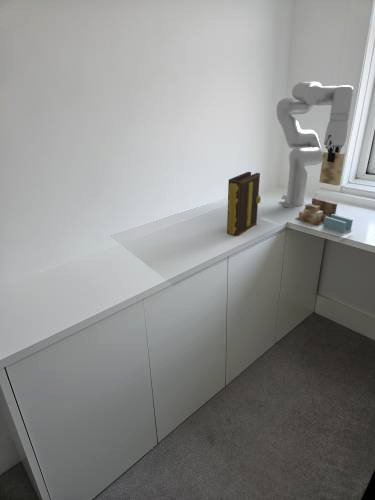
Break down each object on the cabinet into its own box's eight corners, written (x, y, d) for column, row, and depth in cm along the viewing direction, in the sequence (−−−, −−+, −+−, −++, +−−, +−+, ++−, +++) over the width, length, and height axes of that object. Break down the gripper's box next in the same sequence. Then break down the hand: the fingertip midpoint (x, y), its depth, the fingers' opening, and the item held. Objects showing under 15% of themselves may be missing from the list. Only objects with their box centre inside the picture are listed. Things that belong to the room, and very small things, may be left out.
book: (239, 237, 146) (242, 182, 136) (223, 233, 151) (224, 180, 140) (261, 222, 162) (265, 172, 151) (245, 219, 167) (248, 170, 156)
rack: (293, 220, 163) (296, 203, 159) (311, 214, 170) (313, 197, 166) (316, 228, 153) (319, 210, 149) (333, 221, 160) (337, 203, 156)
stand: (320, 229, 152) (322, 217, 149) (332, 225, 156) (334, 213, 154) (340, 236, 144) (343, 223, 142) (351, 231, 149) (354, 219, 146)
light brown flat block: (319, 182, 155) (323, 151, 149) (322, 181, 156) (326, 151, 150) (336, 185, 148) (341, 153, 142) (339, 184, 149) (345, 153, 143)
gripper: (341, 116, 147) (335, 158, 155) (320, 118, 139) (314, 162, 146) (357, 117, 141) (350, 160, 149) (336, 119, 133) (329, 164, 141)
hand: (332, 161), depth 148 cm, fingers closed on light brown flat block, 2 cm apart
